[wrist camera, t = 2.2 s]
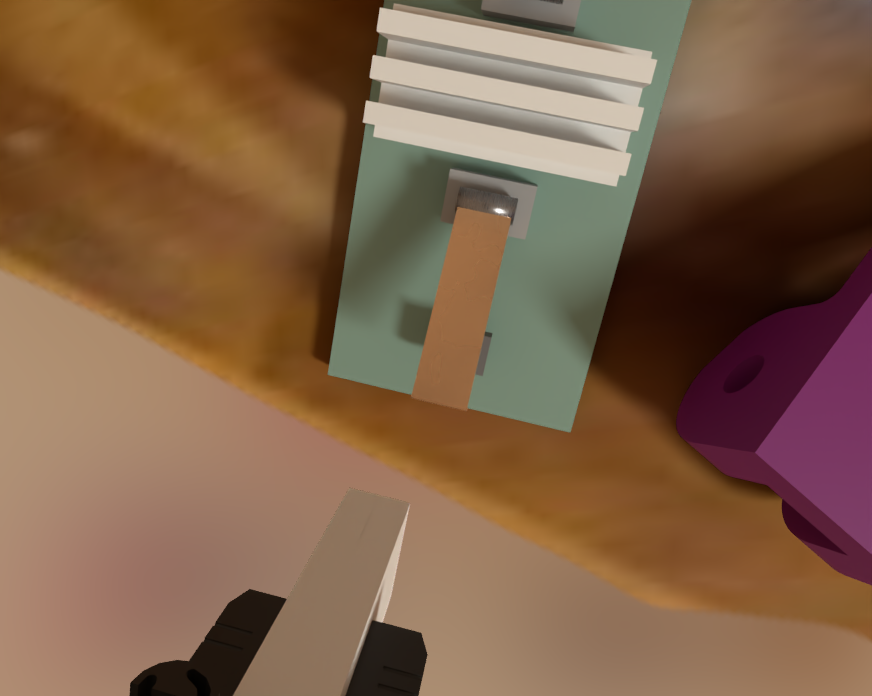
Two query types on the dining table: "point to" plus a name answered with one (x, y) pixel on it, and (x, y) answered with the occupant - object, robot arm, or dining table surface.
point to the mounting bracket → (799, 419)
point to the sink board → (502, 183)
